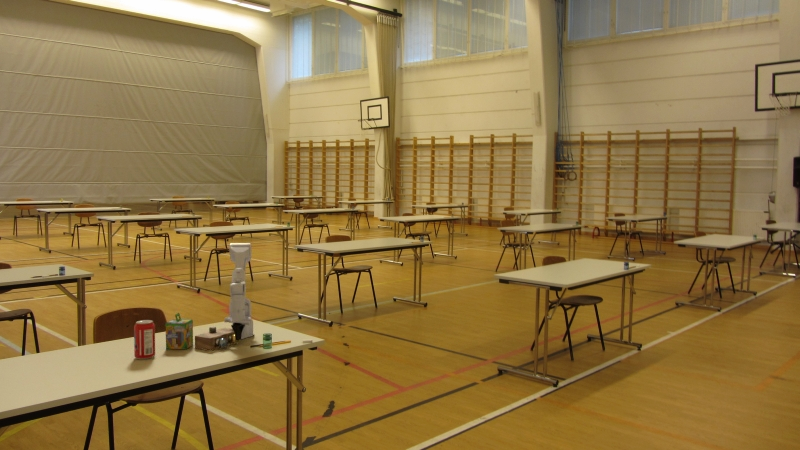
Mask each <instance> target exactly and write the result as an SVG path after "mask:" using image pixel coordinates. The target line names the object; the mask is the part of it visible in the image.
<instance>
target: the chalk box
mask: <svg viewBox="0 0 800 450" xmlns="http://www.w3.org/2000/svg"><path fill="white" fill-rule="evenodd" d="M174 317H175V319H171V320H169V321H167V322H165V323H164V324H165V350H187V349H189V348H191V347H192V346H194V321H193V319H185V318H181V315H180V313H179V312H177V313H176V314H174Z"/></svg>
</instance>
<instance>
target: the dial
mask: <svg viewBox="0 0 800 450" xmlns="http://www.w3.org/2000/svg"><path fill="white" fill-rule="evenodd" d="M216 330H217V327H216V326H211V327H209V328H208V332H209V333H215V332H216Z"/></svg>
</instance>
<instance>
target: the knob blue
mask: <svg viewBox="0 0 800 450" xmlns="http://www.w3.org/2000/svg"><path fill="white" fill-rule="evenodd" d="M227 344H228V340H227V339H225V338H220V339H217V338H216V339H215V345H218V346H219V347H221V348H226V347H228V346H227Z"/></svg>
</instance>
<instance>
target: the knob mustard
mask: <svg viewBox="0 0 800 450" xmlns="http://www.w3.org/2000/svg"><path fill="white" fill-rule="evenodd" d="M228 341H231V342H232V343H234V344H239V343H240V342H241V340H236V339H235V334H233V335H228ZM239 341H240V342H239Z"/></svg>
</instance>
